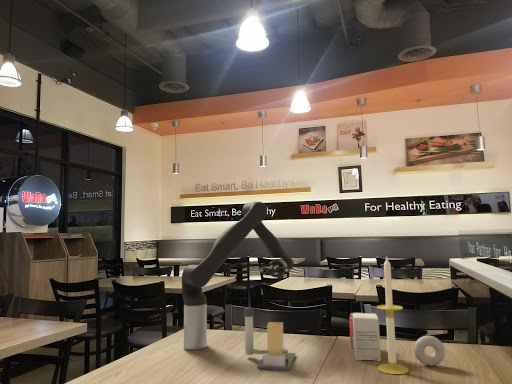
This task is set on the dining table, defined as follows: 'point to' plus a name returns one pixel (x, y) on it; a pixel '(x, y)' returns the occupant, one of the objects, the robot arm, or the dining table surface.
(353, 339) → the soda can
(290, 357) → the base
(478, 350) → the dining table surface
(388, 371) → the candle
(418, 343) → the donut
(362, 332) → the supplement box
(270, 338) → the brass block
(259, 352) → the sliding jaw
